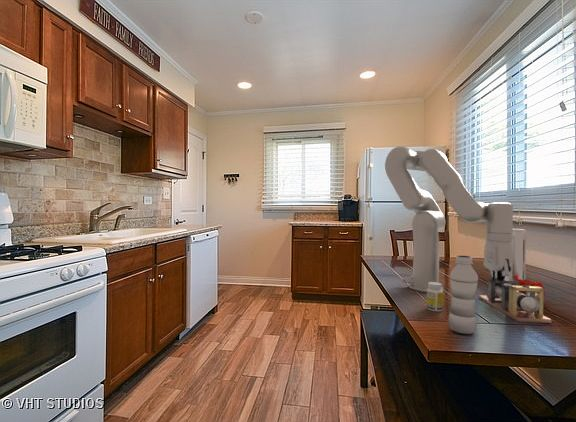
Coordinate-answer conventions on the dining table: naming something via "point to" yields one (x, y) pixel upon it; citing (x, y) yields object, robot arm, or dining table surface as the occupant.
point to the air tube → (521, 300)
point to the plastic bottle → (463, 296)
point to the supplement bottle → (435, 296)
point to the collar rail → (515, 300)
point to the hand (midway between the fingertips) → (497, 289)
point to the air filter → (518, 255)
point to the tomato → (529, 283)
